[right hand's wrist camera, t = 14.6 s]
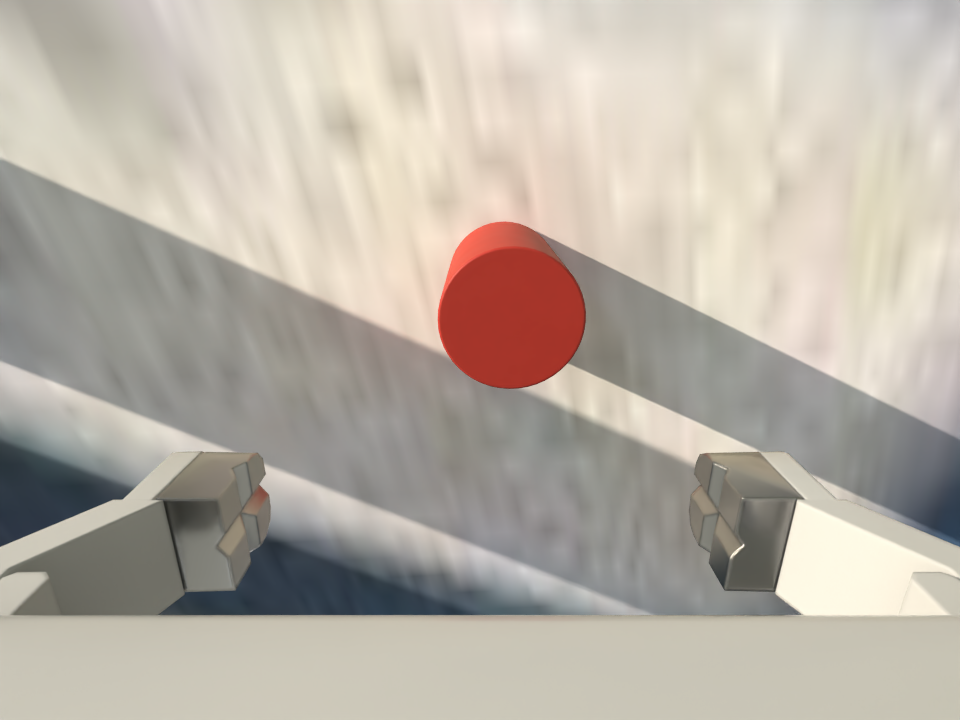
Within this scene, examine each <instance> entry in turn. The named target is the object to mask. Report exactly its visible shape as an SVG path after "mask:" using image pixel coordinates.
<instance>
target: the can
mask: <svg viewBox="0 0 960 720" xmlns="http://www.w3.org/2000/svg"><path fill="white" fill-rule="evenodd" d="M585 322H586V311H585V303H584V299H583V295H582V292H581V290H580V287H579V285H578V283H577V282H576V280H575V278H574V277H573V275H572V274H571V273H570V272H569V270H568V269H567V268H566V267H565V265H564V264H563V263H562V262H561V260H560V259H559V258H558V257H557V255H556V254H555V253H554V251H553V250H552V249H551V248H550V246H549V245H548V244H547V243H546V241H545V240H544V239H543V238H542V237H541V236H540V235H539V234H538V233H536V232H535V231H534V230H532V229H530V228H528V227H526V226H524V225H521V224H517V223H513V222H496V223H490V224H487V225H484V226H482V227H480V228H478V229H476V230H475V231H473V232H472V233H470V234H469V235H468V236H467V237H466V238H465V239H464V240H463V241H462V242H461V243H460V245H459V246H458V248H457V249H456V251H455V253H454V255H453V258H452V261H451V264H450V268H449V271H448V275H447V278H446V282H445V285H444V289H443V292H442V296H441V299H440V304H439V309H438V329H439V333H440V338H441V341H442V343H443V346H444V348H445V350H446V352H447V354H448V355H449V357H450V358H451V360H452V361H453V362H454V363H455V365H456V366H457V367H458V368H459V369H460V370H462V371H463V372H464V373H465V374H466V375H468V376H469V377H471V378H473V379H474V380H476V381H478V382H481V383H483V384H486V385H489V386H492V387H497V388H506V389H514V388H523V387H529V386H532V385H535V384H538V383H540V382H543V381H545V380H547V379H548V378H550V377H552V376H553V375H555V374H556V373H557V372H559V371H560V370H561V369H562V368H563V367H564V366H565V365H566V364H567V363H568V362H569V361H570V359H571V358H572V357H573V355H574V354H575V352H576V351H577V349H578V347H579V345H580V342H581V340H582V337H583V333H584V329H585Z"/></svg>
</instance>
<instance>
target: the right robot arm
mask: <svg viewBox="0 0 960 720" xmlns="http://www.w3.org/2000/svg"><path fill="white" fill-rule="evenodd" d="M265 475H266V472H265V467H264V462H263V458H262V457H261V456H260V455H259V454H258V453H236V452H202V451H197V452H175V453H172V454H171V455H170V456H169V457H167V458H166V459H165V460H164V461H163V462H162V463H161V464H160V465H159V466H158V467H157V468H156V469H155V470H154V471H153V472H152V473H150V474H149V475H148V476H147V477H146V478H145V479H144V480H143V481H142V482H141V483H140V484H139V485H138V486H137V487H136V488H135V489H133V490H132V491H131V492H130V493H129V494H128V495H127V496H126V497H125V498H124V499H123V500H112V501H109V502H107V503H105V504H102V505H100V506H97V507H95V508H93V509H90V510H88V511H85V512H83V513H81V514H78V515H76V516H73V517H71V518H69V519H66V520H64V521H61V522H59V523H57V524H54V525H52V526H49V527H47V528H45V529H42V530H40V531H38V532H35V533H33V534H30V535H28V536H26V537H23V538H21V539H18V540H16V541H14V542H11V543H9V544H6V545H4V546H2V547H0V720H960V547H958V546H956V545H953V544H951V543H949V542H946V541H944V540H941V539H939V538H937V537H934V536H932V535H929V534H927V533H925V532H922V531H920V530H918V529H915V528H913V527H910V526H908V525H906V524H903V523H901V522H898V521H896V520H894V519H891V518H889V517H886V516H884V515H882V514H879V513H877V512H874V511H872V510H870V509H867V508H865V507H863V506H860V505H858V504H855V503H853V502H851V501H848V500H837V499H836V498H835V497H834V496H833V495H832V494H831V493H830V492H829V491H828V490H827V489H826V488H824V487H823V486H822V485H821V484H820V483H819V482H818V481H817V480H816V479H815V478H814V477H813V476H812V475H811V474H810V473H809V472H808V471H806V470H805V469H804V468H803V467H802V466H801V465H800V464H799V463H798V462H797V461H796V460H795V459H794V458H793V457H792V456H791V455H790V454H788V453H785V452H782V451H775V452H736V453H704V454H700V455H699V457H698V459H697V462H696V466H695V472H694V475H695V476H696V478H697V479H698V481H699V482H700V484H701V485H700V486H699V487H698V488H697V489H696V490H695V491H694V492H693V493H692V494H691V499H690V507H689V515H690V525H691V529H692V532H693V535H694V537H695V539H696V541H697V543H698V545H699V546H700V547H702V548H703V549H705V550H707V551H708V552H710V559H709V564H710V566H711V568H712V569H713V571H714V573H715V575H716V576H717V578H718V580H719V581H720V583H721V585H722V587H723V588H724V590H726V591H763V592H775V594H776V595H777V596H778V597H780V598H781V599H782V600H784V601H785V602H786V603H788V604H789V605H790V606H791V607H793V608H794V609H795V610H797V611H798V612H799V613H801V614H802V615H158V614H159V613H161V612H162V611H163V610H165V609H166V608H167V607H169V606H170V605H171V604H173V603H174V602H175V601H177V600H178V599H179V598H181V597H182V596H183V595H185V592H196V591H232V590H236V588H237V587H238V585H239V583H240V582H241V580H242V578H243V576H244V575H245V573H246V571H247V569H248V568H249V566H250V564H251V559H250V552H252V551H253V550H255V549H257V548H258V547H260V546H261V545H262V543H263V541H264V539H265V537H266V535H267V532H268V528H269V523H270V518H271V505H270V498H269V494H268V493H267V492H266V491H265V490H264V489H263V488H262V487H261V486H260V485H259V484H260V482H261V481H262V479H263V478H264V476H265Z"/></svg>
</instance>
